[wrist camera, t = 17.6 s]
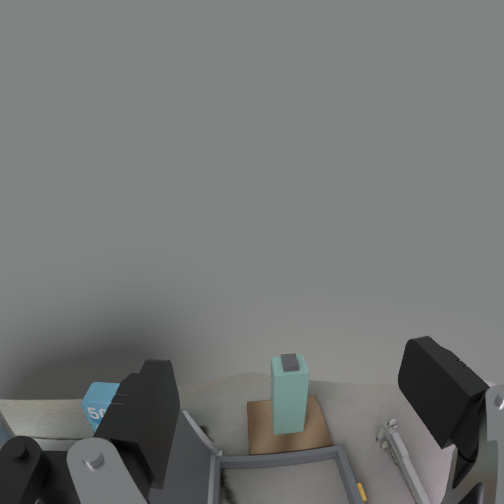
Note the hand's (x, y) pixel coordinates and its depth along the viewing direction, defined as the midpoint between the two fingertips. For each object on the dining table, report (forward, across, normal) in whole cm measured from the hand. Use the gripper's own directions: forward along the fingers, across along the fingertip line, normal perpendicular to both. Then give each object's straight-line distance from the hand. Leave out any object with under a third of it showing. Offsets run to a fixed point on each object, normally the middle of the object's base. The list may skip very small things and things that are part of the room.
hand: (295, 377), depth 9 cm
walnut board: (+24, -4, +30) cm, 39 cm away
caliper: (+8, -18, +30) cm, 36 cm away
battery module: (+24, -4, +29) cm, 38 cm away
